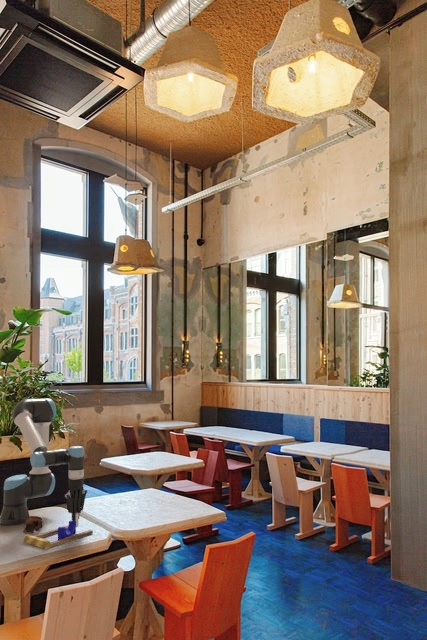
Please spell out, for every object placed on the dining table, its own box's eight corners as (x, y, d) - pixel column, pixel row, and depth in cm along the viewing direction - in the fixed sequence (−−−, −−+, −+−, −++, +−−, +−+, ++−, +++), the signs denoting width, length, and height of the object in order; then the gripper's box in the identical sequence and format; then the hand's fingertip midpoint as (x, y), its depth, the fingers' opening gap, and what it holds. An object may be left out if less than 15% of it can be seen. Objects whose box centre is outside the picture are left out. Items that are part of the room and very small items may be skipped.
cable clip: (67, 532, 253) (67, 520, 254) (75, 533, 252) (75, 520, 253) (54, 540, 242) (55, 527, 242) (63, 541, 241) (63, 527, 241)
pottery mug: (17, 533, 255) (22, 516, 260) (33, 537, 261) (37, 520, 266) (32, 530, 249) (37, 513, 254) (48, 535, 255) (52, 518, 260)
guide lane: (23, 541, 240) (24, 535, 240) (70, 527, 262) (70, 521, 262) (45, 549, 230) (46, 542, 230) (92, 533, 252) (92, 527, 252)
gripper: (70, 481, 249) (69, 531, 246) (91, 476, 259) (90, 524, 257) (60, 479, 253) (59, 528, 251) (81, 474, 264) (80, 522, 261)
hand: (75, 526), depth 254 cm, fingers closed
